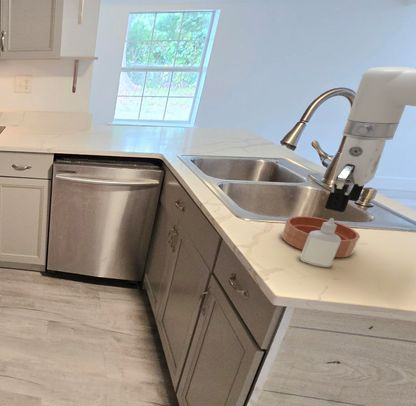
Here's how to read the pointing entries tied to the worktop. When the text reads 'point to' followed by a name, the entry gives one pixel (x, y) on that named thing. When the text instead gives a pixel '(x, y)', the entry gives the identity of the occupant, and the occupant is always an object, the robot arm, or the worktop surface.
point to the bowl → (303, 225)
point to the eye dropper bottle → (321, 245)
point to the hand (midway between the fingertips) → (341, 204)
